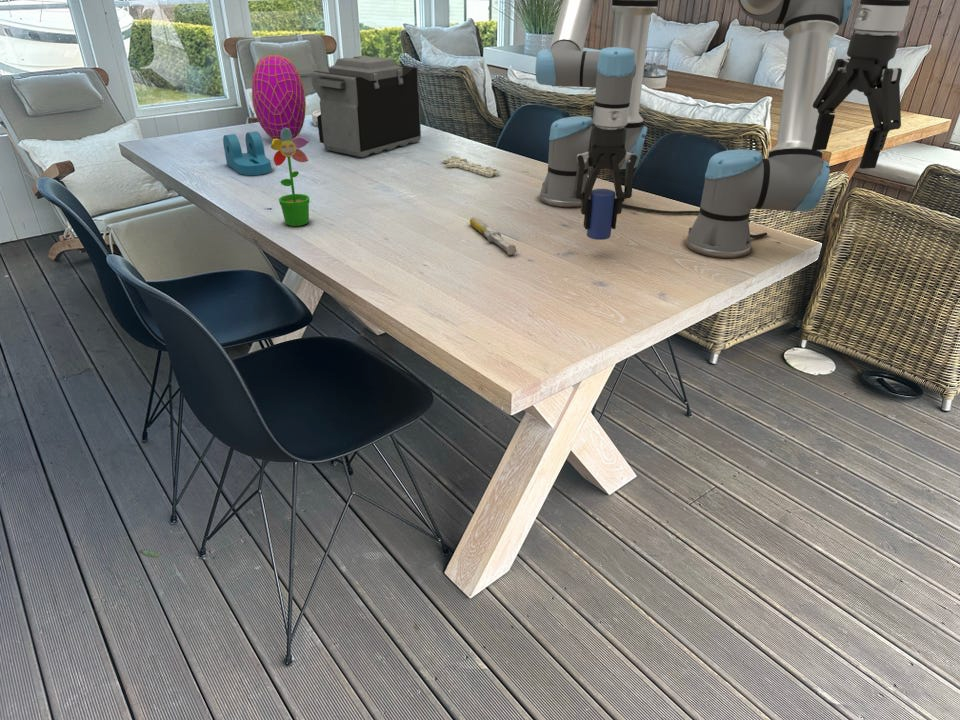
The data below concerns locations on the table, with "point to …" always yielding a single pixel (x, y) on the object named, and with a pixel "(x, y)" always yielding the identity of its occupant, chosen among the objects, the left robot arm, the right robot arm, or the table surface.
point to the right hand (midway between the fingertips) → (841, 158)
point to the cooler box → (367, 105)
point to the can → (601, 214)
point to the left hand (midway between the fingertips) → (599, 226)
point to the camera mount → (246, 154)
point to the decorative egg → (278, 96)
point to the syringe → (492, 235)
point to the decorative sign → (470, 166)
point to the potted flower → (291, 178)
